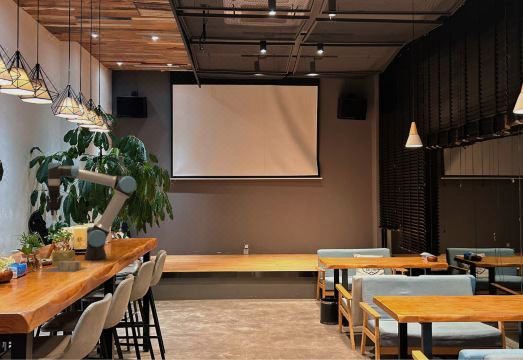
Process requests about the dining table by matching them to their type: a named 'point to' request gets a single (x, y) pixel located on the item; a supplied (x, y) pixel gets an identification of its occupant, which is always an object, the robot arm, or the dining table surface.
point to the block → (70, 265)
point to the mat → (56, 269)
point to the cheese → (62, 256)
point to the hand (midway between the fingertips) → (54, 220)
